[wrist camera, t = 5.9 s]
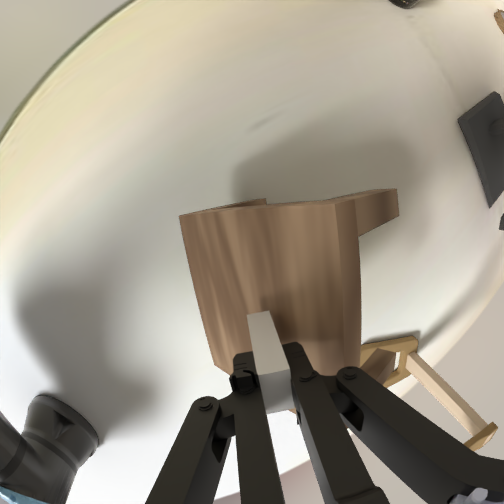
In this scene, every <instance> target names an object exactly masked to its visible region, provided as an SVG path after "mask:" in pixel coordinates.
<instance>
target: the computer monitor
mask: <svg viewBox="0 0 504 504" xmlns="http://www.w3.org/2000/svg"><path fill="white" fill-rule="evenodd" d="M458 123H459V125H460V127H461V129H462V131H463V134H464V136H465V138H466V141H467V143H468V145H469V148H470V150H471V153H472V155H473V158H474V161H475V163H476V166H477V169H478V172H479V175H480V178H481V181H482V184H483V187H484V191H485V194H486V198H487V201H488V205H489V209H490V207H491V206H492V205H493V204H494V202H495V201H496V200H497V198H498V197H499V196H500V195H501V193H502V192H503V191H504V104H503V101H502V99H501V96H500V94H498V93H497V92H495V91H494V92H493V93H492V94H490V95H489V96H488V97H486V98H485V99H484V100H482V101H481V102H480V103H479V104H477V105H476V106H475V107H473V108H472V109H471V110H469V111H468V112H467V113H465V114H464V115H463V116H461V117H460V118H459V119H458ZM499 230H504V214H503V215H502V217H501V220H500V226H499Z"/></svg>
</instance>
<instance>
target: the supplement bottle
mask: <svg viewBox="0 0 504 504" xmlns="http://www.w3.org/2000/svg"><path fill="white" fill-rule="evenodd" d="M389 1H390V2H392V3H393V4H395V5H396V6H399V7H401V8H411V7H413V6H414V5H415V4H416V3H418V2H419V1H420V0H389Z"/></svg>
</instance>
